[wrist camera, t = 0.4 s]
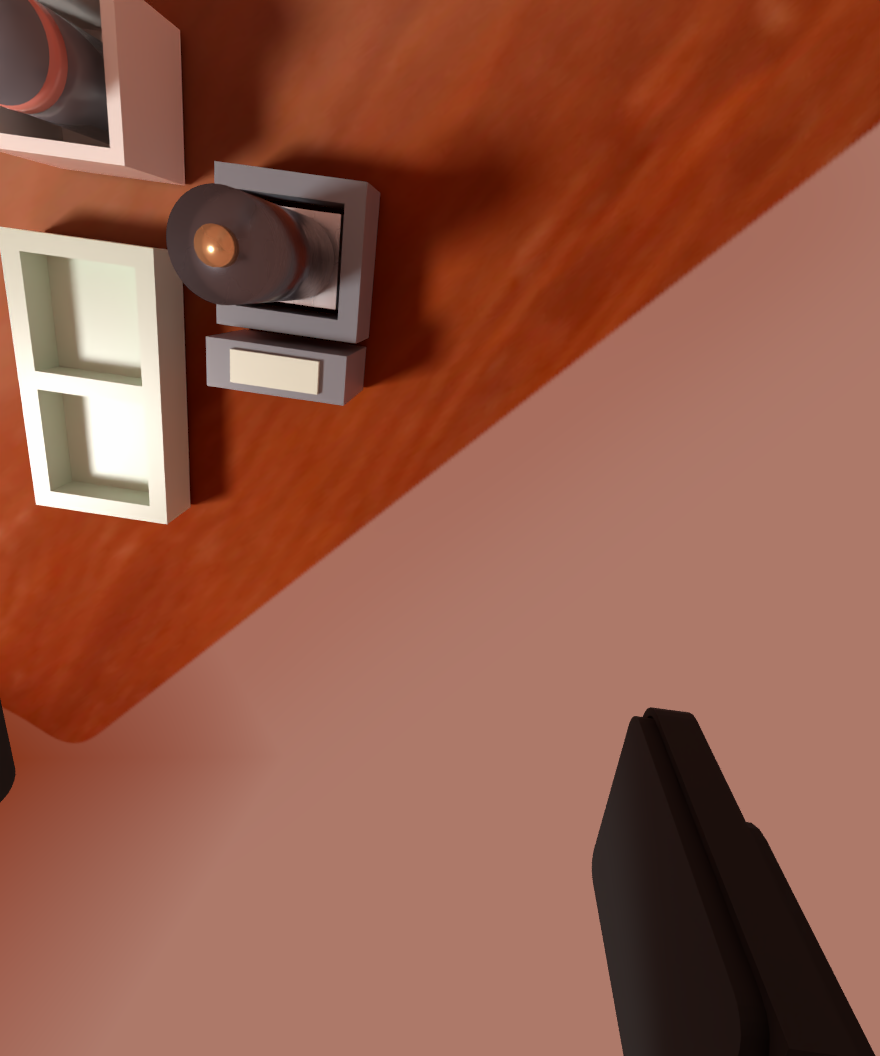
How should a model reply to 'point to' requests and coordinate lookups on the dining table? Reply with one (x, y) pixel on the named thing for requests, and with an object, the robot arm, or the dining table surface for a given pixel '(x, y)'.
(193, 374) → the dining table surface
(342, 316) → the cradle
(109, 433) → the tray
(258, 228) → the cell
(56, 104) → the cup
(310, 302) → the pad
